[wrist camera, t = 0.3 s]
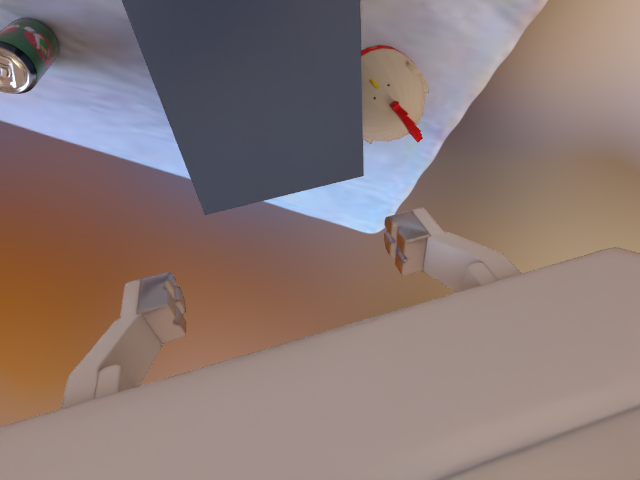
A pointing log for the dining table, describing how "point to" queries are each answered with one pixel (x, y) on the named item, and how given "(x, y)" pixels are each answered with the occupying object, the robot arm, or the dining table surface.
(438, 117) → the dining table surface
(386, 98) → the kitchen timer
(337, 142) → the cupboard
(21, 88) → the soda can
